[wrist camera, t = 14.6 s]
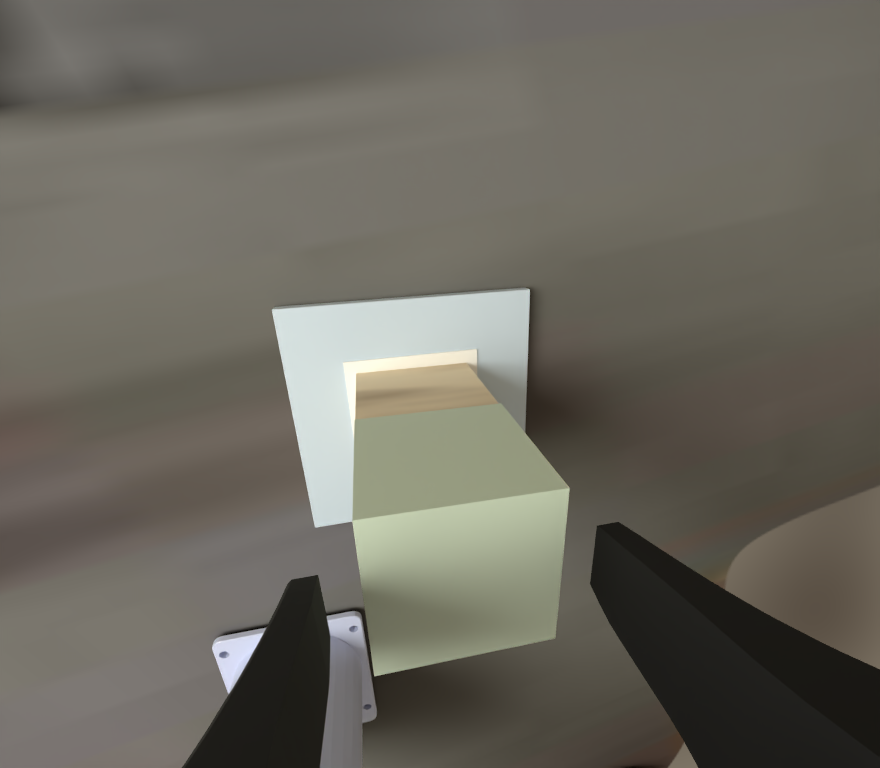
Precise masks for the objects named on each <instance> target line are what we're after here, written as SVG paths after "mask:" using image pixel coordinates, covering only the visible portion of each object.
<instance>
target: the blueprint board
mask: <svg viewBox="0 0 880 768" xmlns="http://www.w3.org/2000/svg"><path fill="white" fill-rule="evenodd" d="M529 305H530V289H528V288H513V289H500V290H487V291H474V292H461V293H448V294H435V295H422V296H409V297H396V298H383V299H371V300H358V301H345V302H332V303H319V304H306V305H293V306H280V307H274V308H273V309H272V313H273V318H274V323H275V328H276V333H277V338H278V343H279V348H280V353H281V358H282V363H283V368H284V373H285V378H286V383H287V388H288V393H289V398H290V403H291V408H292V414H293V419H294V424H295V429H296V434H297V439H298V444H299V449H300V454H301V459H302V464H303V469H304V474H305V479H306V484H307V489H308V494H309V499H310V504H311V509H312V514H313V519H314V524H315V527H321V526H327V525H334V524H340V523H346V522H352V513H353V466H354V420H355V405H356V373H366V372H376V371H387V370H397V369H407V368H417V367H427V366H438V365H448V364H458V363H467V364H468V365H469V367H470V368H471V369H472V370H473V372H474V373H475V374H476V375H477V377H478V378H479V379H480V380H481V382H482V383H483V384H484V386H485V387H486V388H487V389H488V391H489V392H490V393H491V394H492V396H493V397H494V398H495V399H496V401H497V402H498V403H501V404H502V405H503V406H504V407H505V409H506V410H507V411H508V412H509V414H510V415H511V416H512V417H513V418H514V420H515V421H516V422H517V423H518V425H519V426H520V427H521V428H522V430H523V431H524V432H525V423H526V393H527V364H528V334H529Z"/></svg>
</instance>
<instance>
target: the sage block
mask: <svg viewBox="0 0 880 768" xmlns="http://www.w3.org/2000/svg"><path fill="white" fill-rule="evenodd" d="M569 490H570V488H569V487H568V485H567V484H566V483H565V482H564V480H563V479H562V478H561V477H560V475H559V474H558V473H557V472H556V471H555V469H554V468H553V467H552V466H551V464H550V463H549V462H548V461H547V459H546V458H545V457H544V456H543V454H542V453H541V452H540V451H539V449H538V448H537V447H536V446H535V445H534V443H533V442H532V441H531V440H530V438H529V437H528V436H527V435H526V433H525V432H524V431H523V430H522V428H521V427H520V426H519V425H518V423H517V422H516V421H515V420H514V418H513V417H512V416H511V415H510V414H509V412H508V411H507V410H506V409H505V407H504V406H503V405H502V404H501V403H499V404H490V405H481V406H472V407H463V408H454V409H445V410H436V411H427V412H418V413H409V414H400V415H391V416H382V417H374V418H365V419H356V420H354V466H353V513H352V522H353V529H354V536H355V543H356V550H357V557H358V564H359V571H360V578H361V585H362V593H363V600H364V607H365V614H366V621H367V628H368V635H369V642H370V649H371V656H372V663H373V670H374V676H379V675H384V674H388V673H393V672H398V671H403V670H407V669H412V668H417V667H422V666H426V665H431V664H436V663H441V662H445V661H450V660H455V659H460V658H464V657H469V656H474V655H479V654H483V653H488V652H493V651H498V650H502V649H507V648H512V647H517V646H521V645H526V644H531V643H536V642H540V641H545V640H550V639H554V638H555V636H556V626H557V615H558V605H559V594H560V584H561V573H562V563H563V552H564V542H565V532H566V521H567V511H568V500H569Z"/></svg>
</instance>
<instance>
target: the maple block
mask: <svg viewBox="0 0 880 768" xmlns="http://www.w3.org/2000/svg"><path fill="white" fill-rule="evenodd" d="M490 404H499V403H498V402H497V401H496V399H495V398H494V397H493V396H492V394H491V393H490V392H489V391H488V389H487V388H486V387H485V386H484V384H483V383H482V382H481V380H480V379H479V378H478V377H477V375H476V374H475V373H474V372H473V370H472V369H471V368H470V367H469V365H468V364H467V363H458V364H448V365H438V366H427V367H417V368H407V369H397V370H387V371H376V372H366V373H356V405H355V420H356V419H365V418H374V417H382V416H391V415H400V414H409V413H418V412H427V411H436V410H445V409H454V408H463V407H472V406H481V405H490Z"/></svg>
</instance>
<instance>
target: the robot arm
mask: <svg viewBox="0 0 880 768" xmlns="http://www.w3.org/2000/svg"><path fill="white" fill-rule="evenodd" d="M590 585H591V587H592V589H593V591H594V593H595V595H596V597H597V599H598V601H599V603H600V605H601V607H602V609H603V611H604V613H605V615H606V617H607V619H608V621H609V623H610V625H611V626H612V628H613V630H614V631H615V633H616V634H617V636H618V637H619V639H620V641H621V642H622V644H623V645H624V647H625V649H626V650H627V652H628V653H629V655H630V656H631V658H632V659H633V661H634V663H635V664H636V666H637V667H638V669H639V670H640V672H641V673H642V675H643V676H644V678H645V680H646V681H647V683H648V684H649V686H650V687H651V689H652V690H653V692H654V694H655V695H656V697H657V698H658V700H659V701H660V703H661V704H662V706H663V707H664V709H665V711H666V712H667V714H668V715H669V717H670V718H671V720H672V722H673V723H674V725H675V727H676V728H677V730H678V732H679V733H680V735H681V737H682V738H683V740H684V742H685V744H686V746H687V747H688V749H689V751H690V753H691V754H692V757H693V759H694V760H695V762H696V764H697V766H698V768H880V669H877V668H875V667H873V666H871V665H868V664H866V663H864V662H862V661H860V660H858V659H855V658H853V657H851V656H849V655H847V654H844V653H842V652H840V651H838V650H836V649H834V648H832V647H830V646H828V645H826V644H824V643H822V642H820V641H818V640H815V639H814V638H812V637H810V636H808V635H806V634H804V633H802V632H800V631H798V630H796V629H794V628H792V627H790V626H788V625H786V624H784V623H783V622H781V621H779V620H777V619H775V618H773V617H771V616H770V615H768V614H766V613H764V612H762V611H760V610H759V609H757V608H755V607H753V606H752V605H750V604H748V603H746V602H745V601H743V600H741V599H740V598H738V597H736V596H734V595H733V594H731V593H729V592H728V591H726V590H724V589H723V588H721V587H719V586H718V585H716V584H714V583H713V582H711V581H709V580H708V579H706V578H705V577H703V576H701V575H700V574H698V573H697V572H695V571H693V570H692V569H690V568H689V567H687V566H686V565H684V564H682V563H681V562H679V561H678V560H676V559H675V558H673V557H672V556H670V555H669V554H667V553H666V552H664V551H662V550H661V549H659V548H658V547H656V546H655V545H653V544H652V543H650V542H649V541H647V540H646V539H644V538H643V537H641V536H640V535H638V534H636V533H635V532H633V531H632V530H630V529H629V528H627V527H625V526H624V525H622V524H621V523H619V522H616V523H610V524H604V525H599V526H597V531H596V539H595V548H594V556H593V565H592V573H591V582H590ZM212 650H213V653H214V655H215V658H216V661H217V664H218V666H219V669H220V672H221V675H222V677H223V680H224V683H225V686H226V688H227V691H228V694H229V695H228V697H227V698H226V700H225V702H224V703H223V705H222V707H221V708H220V710H219V711H218V713H217V715H216V716H215V718H214V720H213V721H212V723H211V725H210V726H209V728H208V729H207V731H206V732H205V734H204V736H203V737H202V739H201V740H200V742H199V743H198V745H197V746H196V748H195V749H194V751H193V752H192V754H191V755H190V757H189V758H188V760H187V761H186V763H185V764H184V766H183V767H182V768H363V742H362V723H365V722H369V721H372V720H374V719H375V718H376V716H377V708H376V702H375V696H374V689H373V683H372V677H371V671H370V665H369V659H368V653H367V646H366V640H365V634H364V628H363V622H362V616H361V614H360V613H359V612H357V611H350V612H345V613H339V614H334V615H329V616H326V612H325V607H324V602H323V597H322V592H321V587H320V583H319V578H318V575H316V576H310V577H304V578H299V579H293V580H291V581H290V582H289V583H288V584H287V586H286V589H285V591H284V593H283V595H282V597H281V599H280V602H279V604H278V606H277V608H276V610H275V612H274V614H273V616H272V618H271V620H270V622H269V624H268V626H267V627H266V628H261V629H256V630H251V631H246V632H240V633H235V634H230V635H225V636H221V637H218V638H217V639H215V641H214V644H213V646H212Z"/></svg>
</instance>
